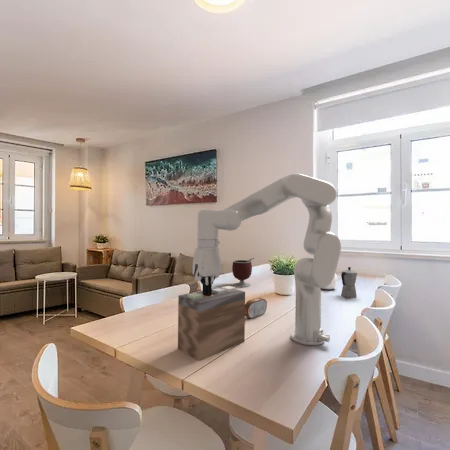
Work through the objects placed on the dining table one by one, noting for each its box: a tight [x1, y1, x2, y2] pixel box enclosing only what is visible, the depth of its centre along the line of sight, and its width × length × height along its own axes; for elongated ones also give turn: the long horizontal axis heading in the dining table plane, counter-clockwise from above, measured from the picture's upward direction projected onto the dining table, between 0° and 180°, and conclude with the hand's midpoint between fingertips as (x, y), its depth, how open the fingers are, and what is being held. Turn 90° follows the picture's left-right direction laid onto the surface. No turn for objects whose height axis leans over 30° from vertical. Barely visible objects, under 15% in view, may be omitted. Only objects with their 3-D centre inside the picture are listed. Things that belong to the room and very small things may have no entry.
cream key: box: [221, 285, 237, 292], centre depth 113 cm, size 4×4×2 cm
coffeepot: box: [340, 266, 358, 299], centre depth 180 cm, size 15×9×18 cm, turn 129°
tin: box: [245, 297, 268, 319], centre depth 140 cm, size 15×3×8 cm, turn 135°
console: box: [177, 286, 246, 362], centre depth 107 cm, size 12×22×19 cm, turn 134°
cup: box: [321, 273, 338, 290], centre depth 201 cm, size 13×13×14 cm
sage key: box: [186, 292, 203, 300], centre depth 101 cm, size 4×4×2 cm
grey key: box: [212, 287, 226, 294], centre depth 109 cm, size 4×4×2 cm
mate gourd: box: [231, 257, 255, 288], centre depth 206 cm, size 16×14×20 cm
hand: (207, 295), depth 105 cm, fingers closed
